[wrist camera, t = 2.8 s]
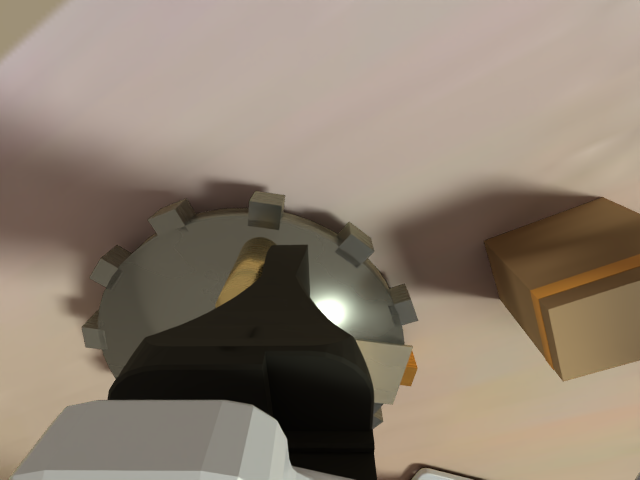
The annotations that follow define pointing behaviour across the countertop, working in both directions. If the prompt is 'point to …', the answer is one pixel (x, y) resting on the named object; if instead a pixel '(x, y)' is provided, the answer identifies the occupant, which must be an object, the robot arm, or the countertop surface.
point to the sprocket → (249, 283)
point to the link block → (574, 285)
